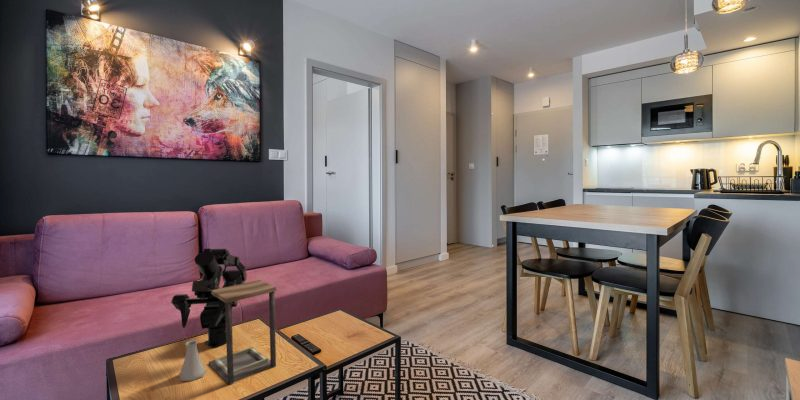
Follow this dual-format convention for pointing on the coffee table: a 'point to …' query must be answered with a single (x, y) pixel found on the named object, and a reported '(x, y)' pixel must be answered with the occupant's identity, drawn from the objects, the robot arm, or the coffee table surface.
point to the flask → (192, 364)
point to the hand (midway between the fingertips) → (199, 326)
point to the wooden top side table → (241, 361)
